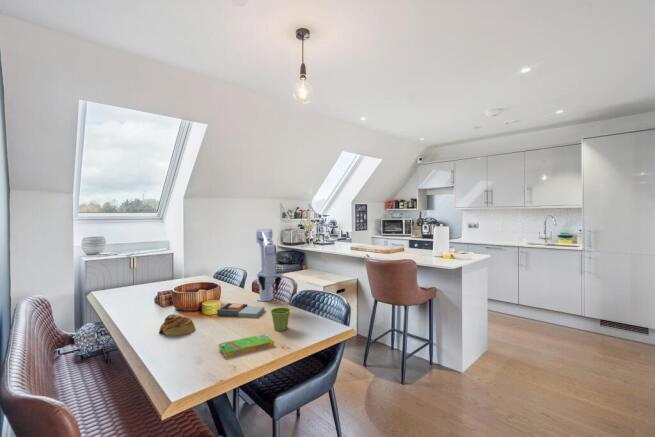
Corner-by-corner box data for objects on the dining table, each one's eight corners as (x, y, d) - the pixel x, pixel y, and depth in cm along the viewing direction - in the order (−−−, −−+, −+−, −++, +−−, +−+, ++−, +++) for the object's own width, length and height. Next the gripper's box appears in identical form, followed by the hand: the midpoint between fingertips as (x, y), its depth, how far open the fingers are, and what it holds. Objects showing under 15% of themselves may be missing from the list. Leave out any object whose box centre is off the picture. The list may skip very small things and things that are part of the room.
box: (228, 308, 179) (228, 303, 179) (247, 309, 177) (247, 304, 177) (217, 315, 167) (217, 309, 167) (238, 316, 165) (238, 310, 165)
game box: (274, 348, 130) (223, 358, 119) (265, 340, 138) (217, 349, 127) (274, 341, 130) (223, 350, 119) (265, 333, 138) (217, 341, 127)
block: (233, 308, 177) (233, 303, 177) (243, 308, 176) (243, 304, 176) (228, 311, 171) (228, 307, 171) (238, 312, 170) (238, 307, 170)
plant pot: (289, 332, 144) (289, 313, 144) (268, 332, 144) (268, 313, 144) (292, 325, 153) (291, 307, 153) (272, 325, 153) (272, 307, 153)
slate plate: (247, 309, 177) (247, 305, 177) (264, 310, 176) (264, 306, 176) (238, 316, 165) (238, 312, 165) (256, 317, 164) (256, 313, 164)
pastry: (160, 328, 149) (160, 311, 149) (195, 324, 155) (195, 308, 155) (157, 339, 137) (157, 320, 137) (194, 334, 143) (194, 316, 142)
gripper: (255, 267, 175) (255, 291, 176) (280, 268, 173) (280, 292, 173) (259, 265, 182) (259, 288, 183) (284, 265, 180) (284, 289, 180)
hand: (270, 290), depth 178 cm, fingers open, 7 cm apart
